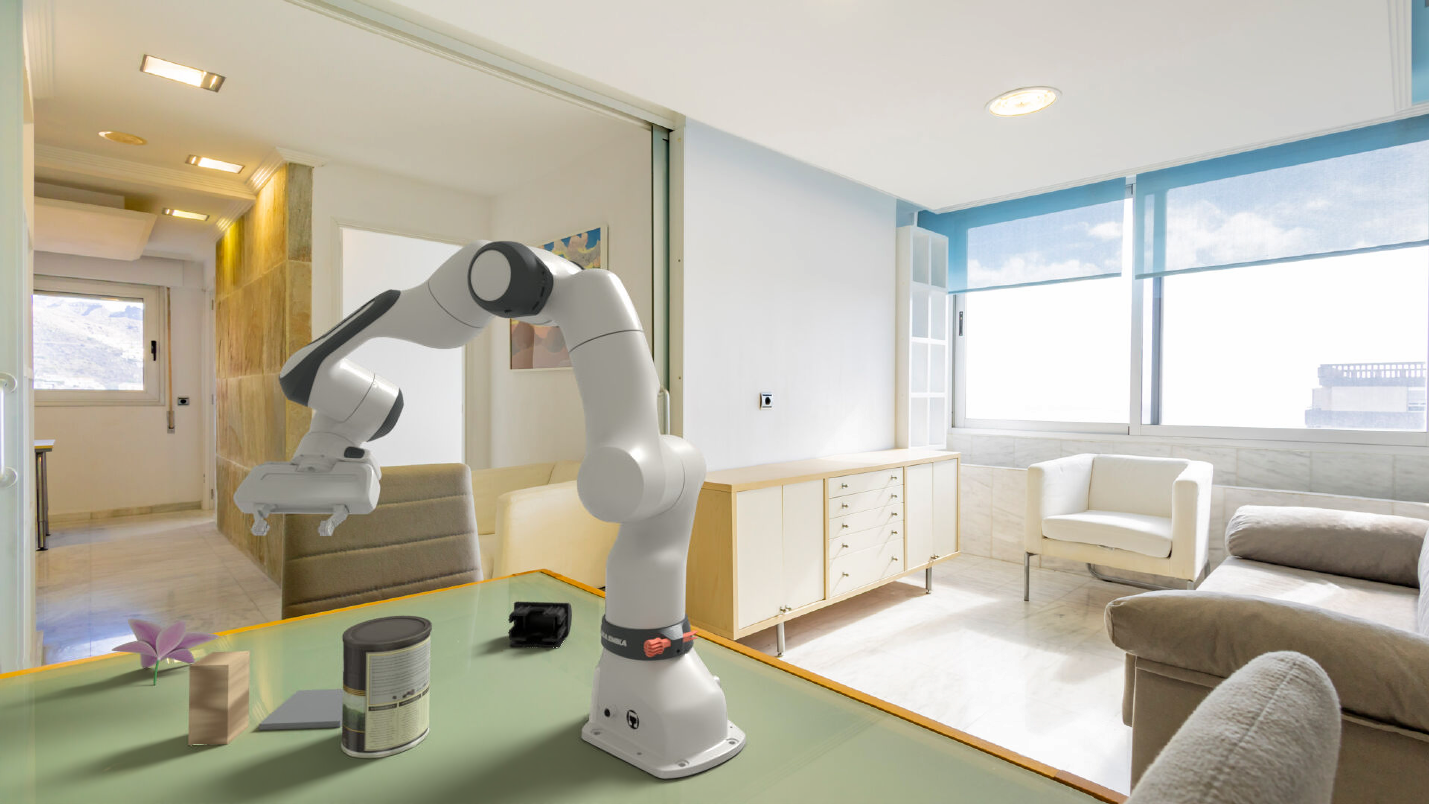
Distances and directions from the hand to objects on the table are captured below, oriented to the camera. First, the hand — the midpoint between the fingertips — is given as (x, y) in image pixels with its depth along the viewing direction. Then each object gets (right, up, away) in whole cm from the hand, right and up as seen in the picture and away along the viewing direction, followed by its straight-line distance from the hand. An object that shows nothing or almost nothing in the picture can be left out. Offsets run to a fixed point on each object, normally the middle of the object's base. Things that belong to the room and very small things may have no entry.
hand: (291, 533), depth 99 cm
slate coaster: (+9, -23, -8) cm, 26 cm away
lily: (-22, -23, +3) cm, 31 cm away
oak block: (+1, -23, -15) cm, 28 cm away
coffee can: (+22, -23, -15) cm, 35 cm away
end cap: (+32, -24, +20) cm, 45 cm away
